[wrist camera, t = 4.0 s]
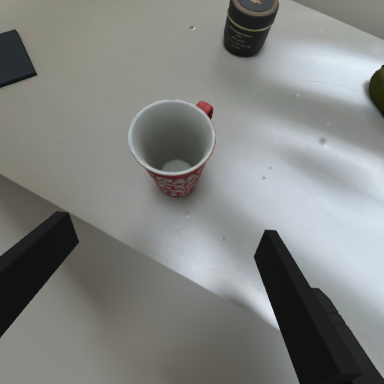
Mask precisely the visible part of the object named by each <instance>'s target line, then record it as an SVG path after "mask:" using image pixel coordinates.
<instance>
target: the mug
mask: <svg viewBox="0 0 384 384" xmlns="http://www.w3.org/2000/svg"><path fill="white" fill-rule="evenodd" d="M212 114H213V107H212V106H211V105H210V104H208V103H206V102H203V101H201V102H199V103H198V104H197V105H196V106H195V105H193V104H191V103H188V102H185V101H181V100H175V99H174V100H173V99H169V100H162V101H157V102H154V103H152V104H150V105H148V106H146V107H145V108H144V109H142V110H141V111H140V112H139V113H138V114H137V115H136V116H135V118H134V119H133V121H132V123H131V125H130V128H129V132H128V143H129V148H130V150H131V153H132V154H133V156H134V158H135V159H136V160H137V161H138V163H139V164H141V165H142V166H143V167H144V168H145V169H146V170H147V172H148V173H149V174H150V176H151V177H152V178H153V179H154V181H155V182H156V183H157V185H158V186H159V187H160V189H161V190H162V191H163V192H164V193H166V194H167V195H169V196H173V197H182V196H185V195H187V194H189V193H190V192H191V191H192V190H193V189H194V187H195V186H196V184H197V181H198V179H199V177H200V174H201V172H202V170H203V168H204V166H205V163H206V162H207V160H208V159H209V158H210V156H211V155H212V153H213V150H214V147H215V142H216V133H215V129H214V126H213V123H212V122H211V118H212Z"/></svg>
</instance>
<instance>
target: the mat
mask: <svg viewBox="0 0 384 384" xmlns="http://www.w3.org/2000/svg"><path fill="white" fill-rule="evenodd" d="M35 75H37V74H36V72H35V70H34V67H33V65H32V63H31V61H30V59H29V56H28V54H27V52H26V50H25V48H24V45H23V43H22V41H21V39H20V36H19V34H18V32H17V31H16V30H11V31H8V32H4V33H1V34H0V87H3V86H6V85H9V84H12V83H15V82H17V81H20V80H23V79H26V78H29V77H32V76H35Z"/></svg>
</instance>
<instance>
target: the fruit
mask: <svg viewBox="0 0 384 384" xmlns="http://www.w3.org/2000/svg"><path fill="white" fill-rule="evenodd" d="M381 67H382V68H380V69H379V70H377V71H376V72H375V73H374V74H373V76H372V77H371V80H370V83H369V92H370V95H371V98H372V100H373V101H374V103H375V104H376V106H377V107H378V108H379V109H380V110H381V111H383V112H384V65H382V66H381Z"/></svg>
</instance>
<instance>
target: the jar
mask: <svg viewBox="0 0 384 384" xmlns="http://www.w3.org/2000/svg"><path fill="white" fill-rule="evenodd" d="M278 8H279V2H278V0H230V3H229V7H228V12H227V13H228V14H227V19H226V24H225V30H224V42H225V44H226V47H227V48H228V49H229V51H231V52H232V53H234V54H236V55H239V56H251V55H253V54H255V53H256V52H258V51H259V50H260V48H261V47H262V45H263V44H264V42H265V40H266V37H267V35H268V33H269V30H270V28H271V26H272V24H273V22H274V19H275V16H276V14H277V11H278Z"/></svg>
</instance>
